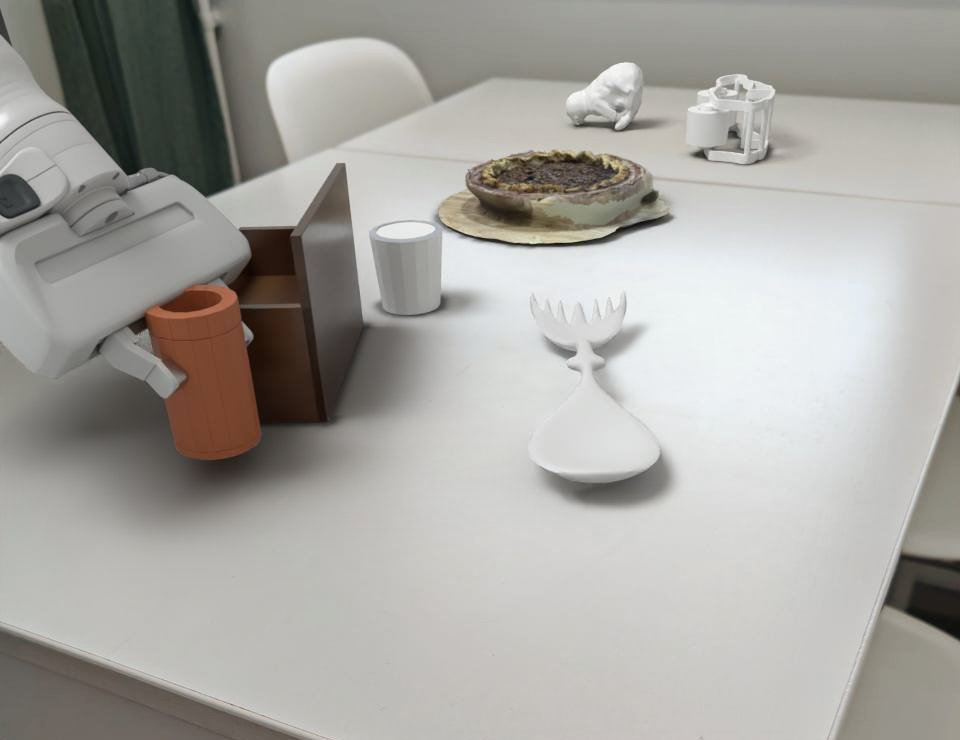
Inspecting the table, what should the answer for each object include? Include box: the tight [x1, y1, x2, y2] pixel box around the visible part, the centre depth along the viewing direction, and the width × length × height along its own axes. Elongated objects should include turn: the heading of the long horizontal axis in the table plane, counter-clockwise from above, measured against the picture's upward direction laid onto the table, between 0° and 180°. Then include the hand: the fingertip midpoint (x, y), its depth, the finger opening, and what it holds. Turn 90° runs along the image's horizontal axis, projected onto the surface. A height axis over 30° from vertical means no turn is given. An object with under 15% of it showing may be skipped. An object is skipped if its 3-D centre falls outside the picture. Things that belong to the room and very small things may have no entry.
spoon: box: [528, 290, 661, 484], centre depth 78 cm, size 9×32×4 cm, turn 178°
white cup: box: [368, 219, 443, 316], centre depth 95 cm, size 7×7×7 cm
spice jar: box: [145, 285, 262, 461], centre depth 68 cm, size 6×6×10 cm
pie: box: [438, 149, 671, 245], centre depth 119 cm, size 28×27×5 cm
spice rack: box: [227, 162, 364, 423], centre depth 81 cm, size 10×20×14 cm, turn 177°
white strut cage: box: [684, 73, 776, 165], centre depth 139 cm, size 20×11×7 cm, turn 164°
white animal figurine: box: [565, 61, 645, 132], centre depth 152 cm, size 6×8×12 cm
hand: (211, 367), depth 68 cm, fingers closed on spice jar, 6 cm apart
